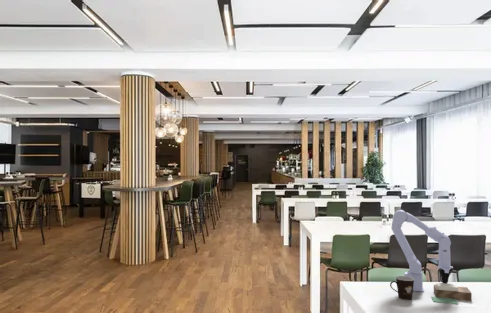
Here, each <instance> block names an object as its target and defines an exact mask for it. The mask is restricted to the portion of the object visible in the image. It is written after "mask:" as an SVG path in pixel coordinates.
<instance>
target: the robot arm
mask: <svg viewBox="0 0 491 313" xmlns="http://www.w3.org/2000/svg"><path fill="white" fill-rule="evenodd" d="M405 222H406V223H410V224H411V223H412V224H413V225H414V226H416V227H418V228H420V230H422V231H424V234H425V235H426V236H427V237H429V238H430V239H432V240H433V241H434V242H437V243H438V266H437V267H438V272H439V274H440V277H441V283H447V284H449V283H448V282H449V277H450V275H451V273H452V271H451V269H454V267H453V265H452V266H451V264H452V263H451V245H452V242H451V239H450V237H449V236H448V235H447V234H445V232H441V231H440V230H438V229H437V227H436V226H432V225H429V226H428V225H427V224H426V223H424V222H422V221H421V220H420V219H418V218H417V217H416V216H414V215H413V214H411V213H409V212H406V211H405V210H404V209H397V210H396V211H395V212H394V214H393V216H392V223H391V231H392V233H393V235H394V236H395V239H396V241H397V243H398V245H399V246H400V248H401V251H402V252H403V254H404V256H405V259H406V261H407V263H408V266H409V267H408V268H409V269H408V270H407V271H406V272H403V273H404V275H403V276H406V277H411V278H413V279H414V285H413V292H422V293H424V292H425V290H424V287H423V284H424V283H423V282H424V281H423V279H424V278H423V272H422V271H423V267H422V263H421V262H420V260H419V259H418V258H417V256H416V255H415V253H414V251H413V249H412V247H411V245H410V244H409V242H408V240H407V238H406V236H405V233H404V232H403V230H402V226H403V224H404V223H405Z"/></svg>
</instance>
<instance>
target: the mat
mask: <svg viewBox="0 0 491 313" xmlns="http://www.w3.org/2000/svg"><path fill="white" fill-rule="evenodd" d="M430 298H431V300H432V302H433V303H439V304H441V303H442V304H450V305H451V304H452V305H458V304H459V303H458V301H457V300H456V299H451V298H441V297H436V296H430Z"/></svg>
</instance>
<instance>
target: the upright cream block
mask: <svg viewBox="0 0 491 313" xmlns="http://www.w3.org/2000/svg"><path fill="white" fill-rule="evenodd" d="M436 285H437V288H438V290H448V291H458V287H459V286H457V284H455V283H442V282H436Z"/></svg>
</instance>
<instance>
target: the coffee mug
mask: <svg viewBox="0 0 491 313" xmlns="http://www.w3.org/2000/svg"><path fill="white" fill-rule="evenodd" d="M393 283H395V284H396V287H397V290H396V289H395V288H393V286H392V285H393ZM413 285H414V279H413V278H411V277H406V276H404V275H403V276H402V275H399V276H396V278H395V280H392V281H391V282H390V285H389V287H390V288H391V289H392V290H393V291H394V292H396V293H397V294H398V299H400V300H403V301H411V300H413V293H414V291H413Z"/></svg>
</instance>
